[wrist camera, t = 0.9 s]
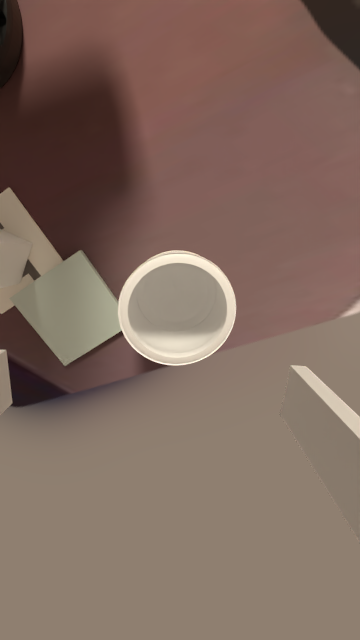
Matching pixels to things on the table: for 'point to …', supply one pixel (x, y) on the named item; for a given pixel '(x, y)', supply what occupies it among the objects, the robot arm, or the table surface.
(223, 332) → the jar
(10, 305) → the tile
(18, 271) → the milk
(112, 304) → the coaster
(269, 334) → the table surface
